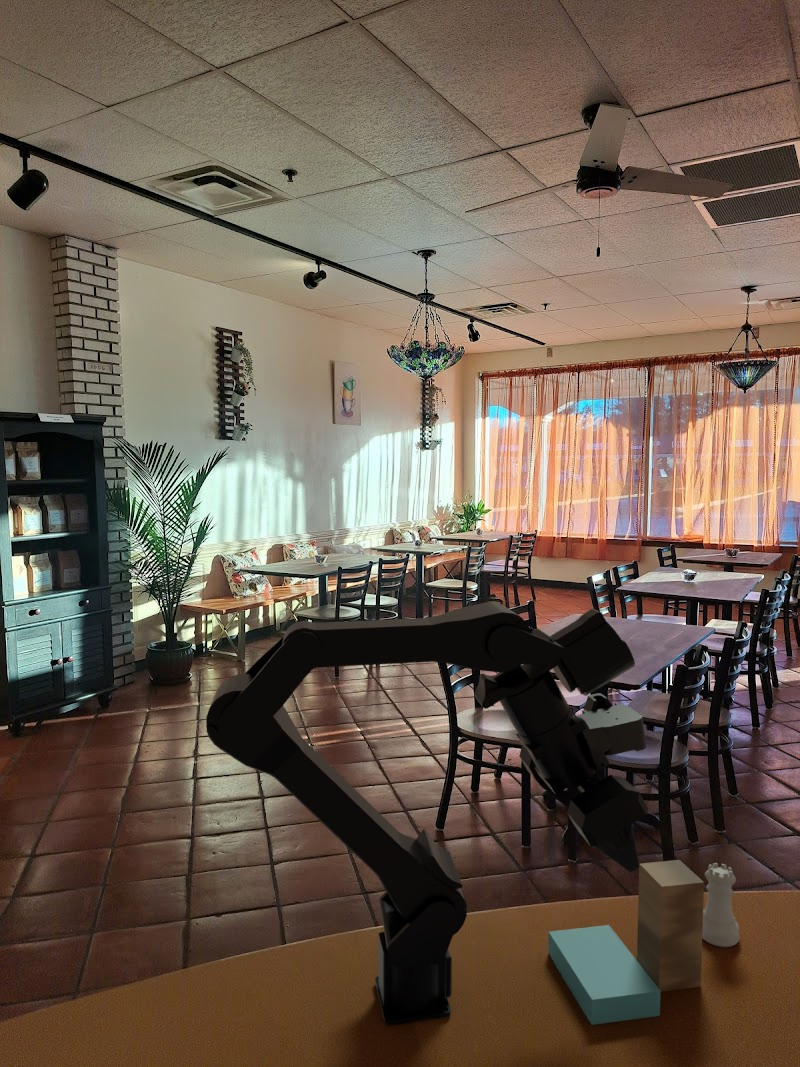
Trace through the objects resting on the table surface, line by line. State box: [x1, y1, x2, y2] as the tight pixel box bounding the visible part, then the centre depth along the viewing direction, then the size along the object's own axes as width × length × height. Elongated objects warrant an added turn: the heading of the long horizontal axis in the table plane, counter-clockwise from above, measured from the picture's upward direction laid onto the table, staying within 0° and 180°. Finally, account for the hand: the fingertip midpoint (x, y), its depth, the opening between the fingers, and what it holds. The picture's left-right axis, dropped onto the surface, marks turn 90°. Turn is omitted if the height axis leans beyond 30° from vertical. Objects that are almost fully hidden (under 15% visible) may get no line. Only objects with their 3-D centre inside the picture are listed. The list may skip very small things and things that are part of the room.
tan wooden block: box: [636, 859, 705, 993], centre depth 79 cm, size 5×5×11 cm
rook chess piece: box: [702, 862, 741, 948], centre depth 86 cm, size 4×4×8 cm
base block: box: [547, 924, 662, 1026], centre depth 78 cm, size 7×11×2 cm, turn 11°
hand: (613, 845), depth 78 cm, fingers open, 9 cm apart
